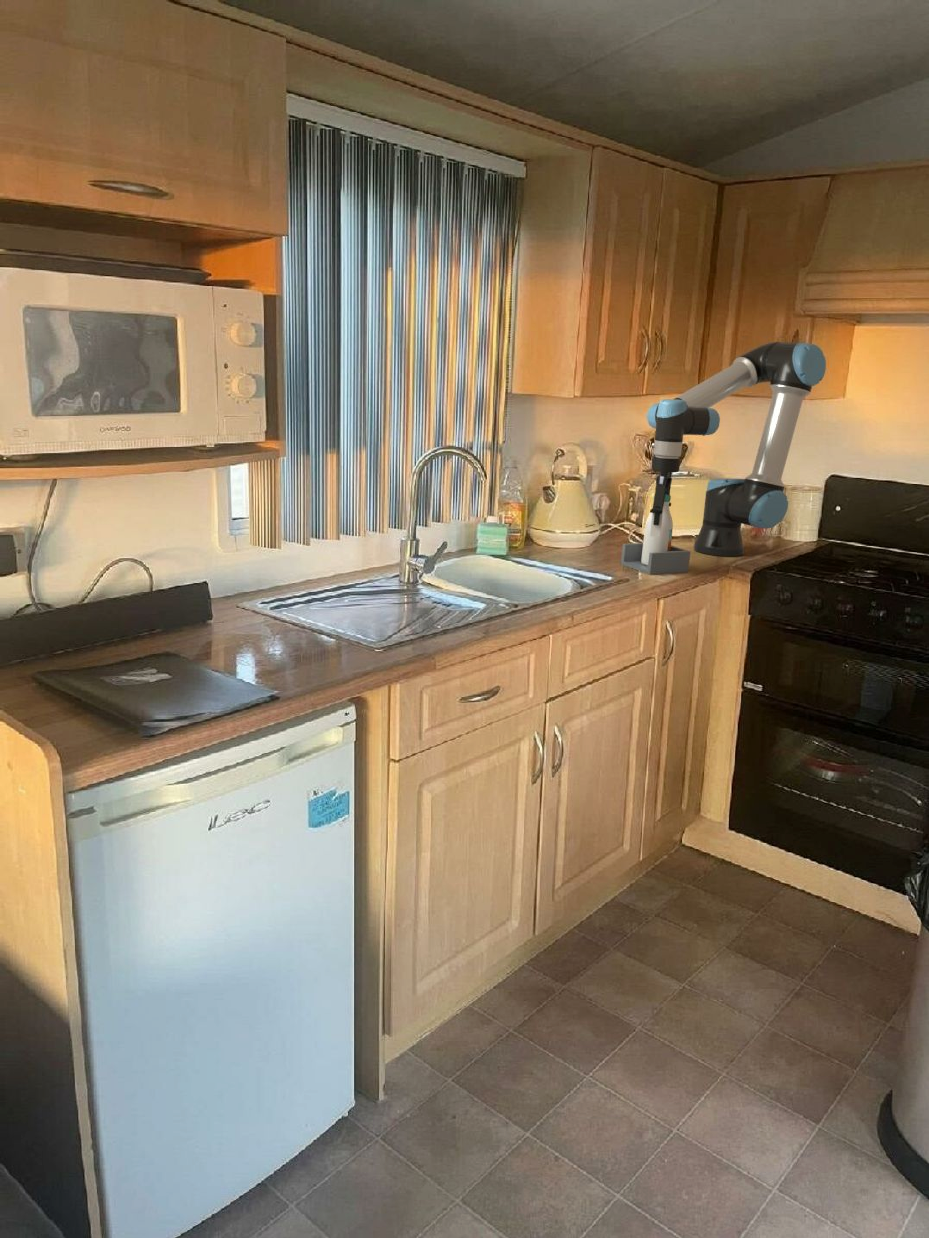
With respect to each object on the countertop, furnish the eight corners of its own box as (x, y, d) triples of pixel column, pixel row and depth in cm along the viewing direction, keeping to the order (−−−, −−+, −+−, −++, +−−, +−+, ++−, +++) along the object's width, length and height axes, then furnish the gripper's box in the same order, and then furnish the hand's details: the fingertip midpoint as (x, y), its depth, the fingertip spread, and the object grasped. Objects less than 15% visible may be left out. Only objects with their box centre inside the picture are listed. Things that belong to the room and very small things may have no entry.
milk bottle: (661, 569, 269) (669, 497, 263) (636, 564, 273) (643, 493, 268) (673, 565, 275) (681, 495, 269) (648, 560, 279) (656, 491, 274)
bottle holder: (658, 562, 283) (660, 541, 281) (687, 572, 271) (690, 551, 270) (620, 564, 277) (622, 543, 275) (649, 574, 265) (652, 553, 264)
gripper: (658, 451, 278) (650, 524, 284) (647, 459, 255) (638, 538, 261) (684, 454, 276) (676, 527, 282) (675, 462, 253) (666, 541, 259)
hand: (658, 532), depth 271 cm, fingers open, 13 cm apart
